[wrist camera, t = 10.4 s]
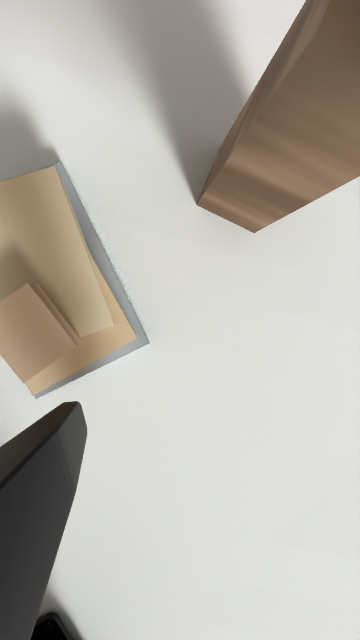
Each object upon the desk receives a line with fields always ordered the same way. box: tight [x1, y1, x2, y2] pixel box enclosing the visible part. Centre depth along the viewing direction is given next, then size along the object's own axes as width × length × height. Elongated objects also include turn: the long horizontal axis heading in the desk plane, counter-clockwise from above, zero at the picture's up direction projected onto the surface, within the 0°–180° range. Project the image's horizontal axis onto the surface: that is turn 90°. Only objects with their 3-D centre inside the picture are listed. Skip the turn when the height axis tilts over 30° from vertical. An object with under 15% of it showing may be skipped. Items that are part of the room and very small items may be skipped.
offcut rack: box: [0, 161, 149, 399], centre depth 16 cm, size 7×11×6 cm, turn 25°
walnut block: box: [197, 0, 360, 233], centre depth 14 cm, size 4×4×13 cm
